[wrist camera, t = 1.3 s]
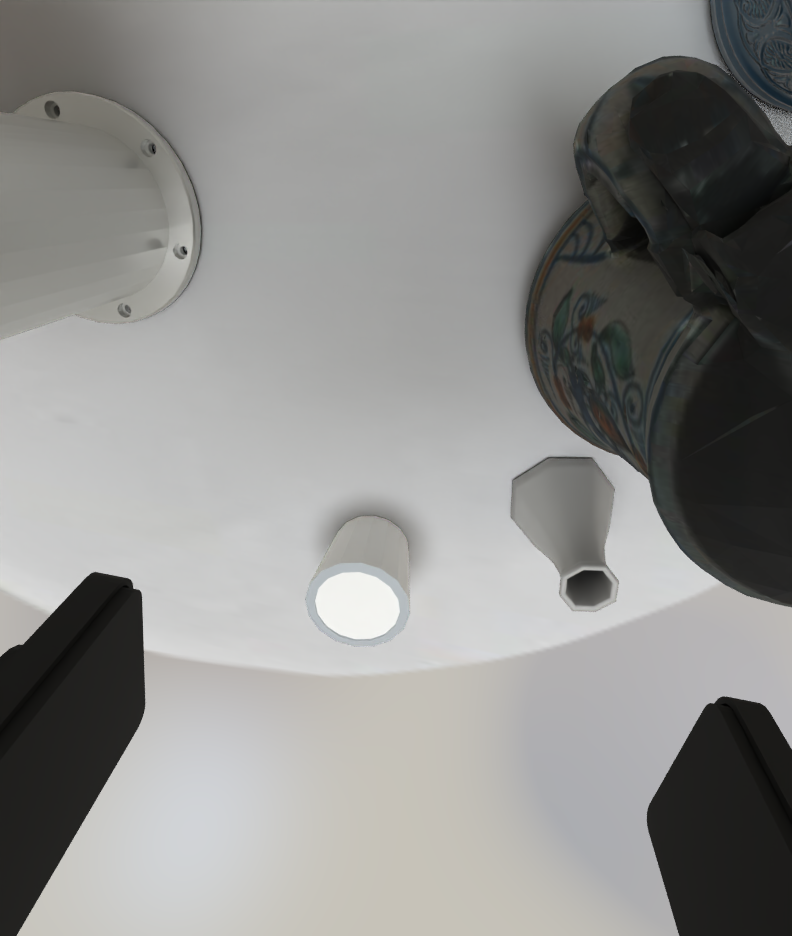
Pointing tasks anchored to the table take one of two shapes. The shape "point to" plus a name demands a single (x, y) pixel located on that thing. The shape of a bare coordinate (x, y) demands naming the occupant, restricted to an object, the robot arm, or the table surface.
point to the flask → (569, 526)
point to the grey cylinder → (362, 584)
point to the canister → (757, 46)
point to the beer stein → (681, 313)
